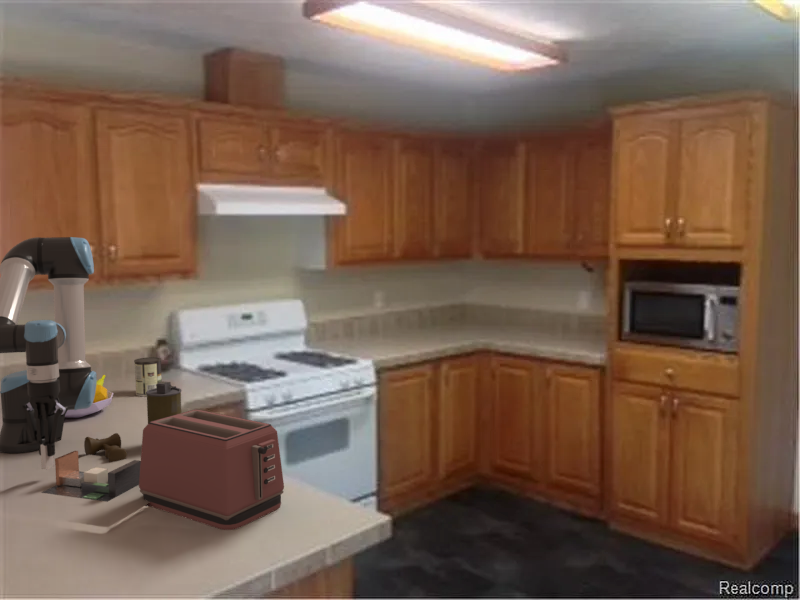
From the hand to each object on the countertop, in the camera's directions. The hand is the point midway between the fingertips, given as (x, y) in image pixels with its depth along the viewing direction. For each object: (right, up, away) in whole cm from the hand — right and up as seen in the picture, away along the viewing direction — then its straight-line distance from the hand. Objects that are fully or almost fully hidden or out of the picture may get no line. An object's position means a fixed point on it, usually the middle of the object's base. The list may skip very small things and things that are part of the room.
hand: (47, 467), depth 187 cm
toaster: (+48, -6, -13) cm, 50 cm away
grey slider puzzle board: (+15, -5, -4) cm, 16 cm away
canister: (+20, -1, +33) cm, 39 cm away
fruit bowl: (-25, +3, +72) cm, 76 cm away
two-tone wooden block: (+9, -3, -2) cm, 10 cm away
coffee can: (-9, +6, +101) cm, 102 cm away
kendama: (+6, -3, +23) cm, 24 cm away
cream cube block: (+15, -4, -4) cm, 16 cm away
